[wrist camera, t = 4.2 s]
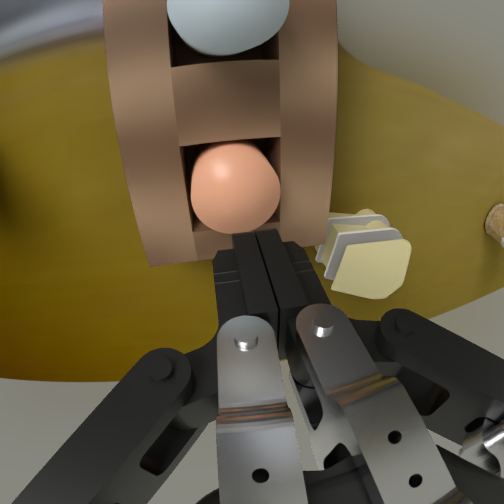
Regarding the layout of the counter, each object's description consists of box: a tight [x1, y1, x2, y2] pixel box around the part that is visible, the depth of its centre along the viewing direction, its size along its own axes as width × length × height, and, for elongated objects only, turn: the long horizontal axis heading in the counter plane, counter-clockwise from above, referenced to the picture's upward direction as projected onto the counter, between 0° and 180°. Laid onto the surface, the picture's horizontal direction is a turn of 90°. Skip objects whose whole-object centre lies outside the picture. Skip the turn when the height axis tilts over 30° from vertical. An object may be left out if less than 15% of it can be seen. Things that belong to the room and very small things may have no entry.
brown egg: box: [191, 139, 281, 234], centre depth 16 cm, size 4×4×5 cm
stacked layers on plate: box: [314, 209, 411, 299], centre depth 23 cm, size 10×9×6 cm
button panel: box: [103, 0, 338, 267], centre depth 12 cm, size 27×11×5 cm, turn 2°
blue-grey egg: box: [167, 0, 289, 57], centre depth 9 cm, size 4×4×5 cm
